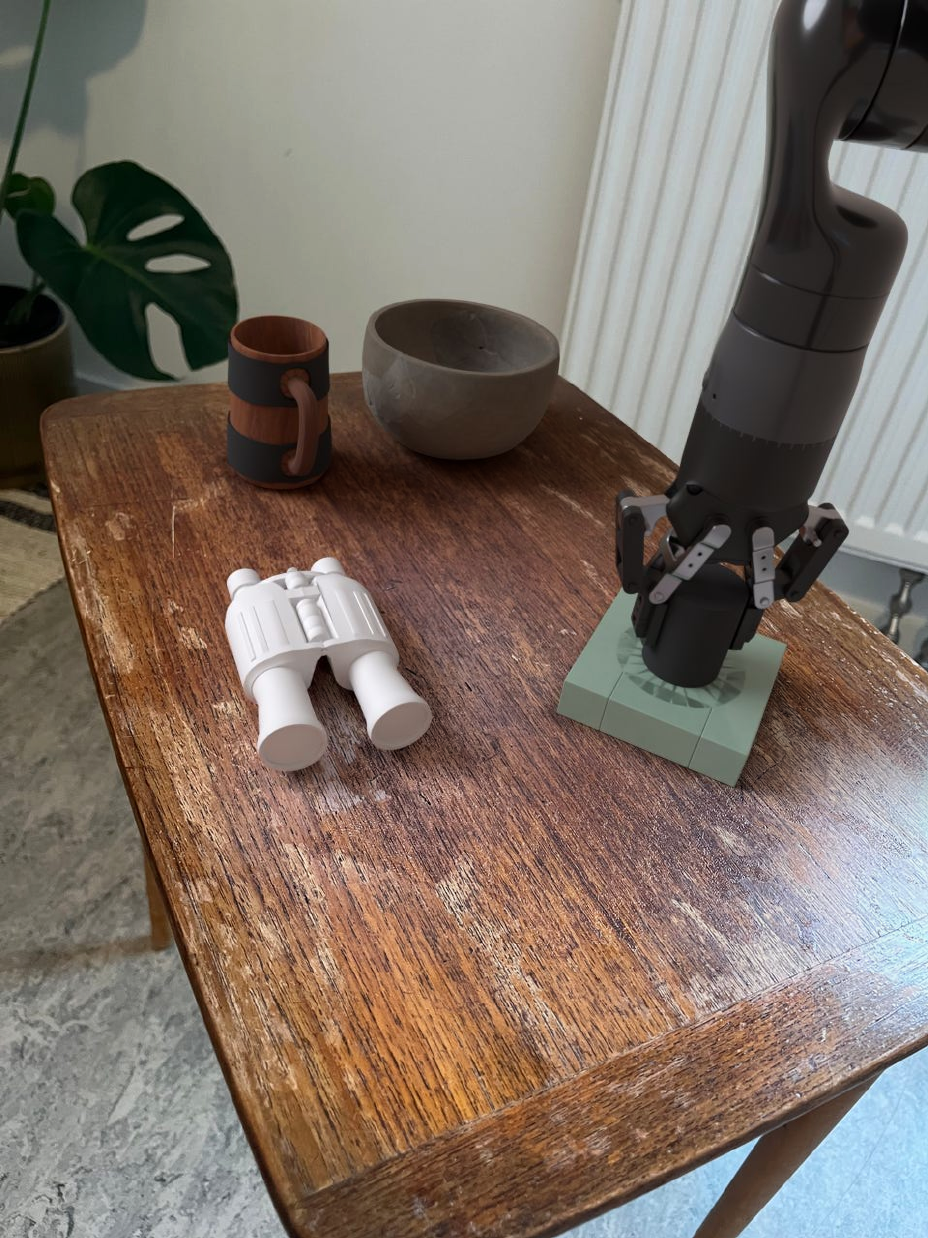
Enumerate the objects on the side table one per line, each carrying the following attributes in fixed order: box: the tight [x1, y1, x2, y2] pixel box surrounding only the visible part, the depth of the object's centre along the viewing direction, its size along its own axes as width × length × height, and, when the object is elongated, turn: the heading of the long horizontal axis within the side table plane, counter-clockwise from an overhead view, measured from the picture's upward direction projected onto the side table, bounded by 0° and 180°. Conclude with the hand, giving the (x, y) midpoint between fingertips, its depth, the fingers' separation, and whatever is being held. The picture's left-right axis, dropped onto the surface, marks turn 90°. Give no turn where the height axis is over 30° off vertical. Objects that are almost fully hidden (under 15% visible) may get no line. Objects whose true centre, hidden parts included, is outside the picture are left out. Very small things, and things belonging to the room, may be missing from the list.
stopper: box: [642, 563, 749, 688], centre depth 62 cm, size 5×5×9 cm
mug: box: [226, 314, 333, 490], centre depth 77 cm, size 9×12×12 cm
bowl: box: [361, 298, 561, 461], centre depth 86 cm, size 17×18×10 cm
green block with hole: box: [556, 586, 788, 788], centre depth 65 cm, size 12×12×3 cm
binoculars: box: [224, 556, 433, 772], centre depth 61 cm, size 10×16×5 cm, turn 21°
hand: (688, 639), depth 62 cm, fingers closed on stopper, 5 cm apart
